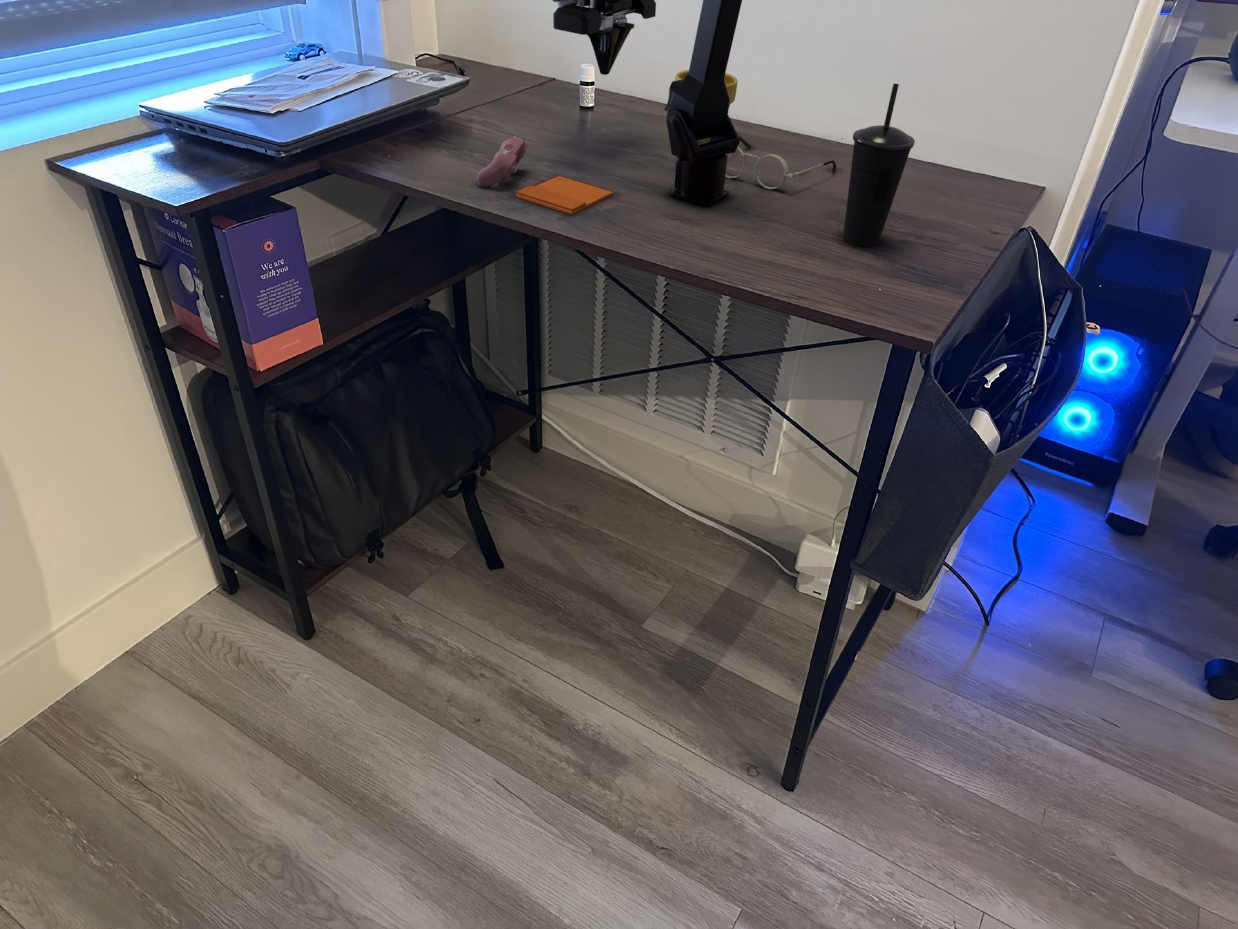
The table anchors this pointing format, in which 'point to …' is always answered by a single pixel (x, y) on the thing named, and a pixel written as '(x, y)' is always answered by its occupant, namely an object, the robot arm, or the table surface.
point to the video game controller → (503, 162)
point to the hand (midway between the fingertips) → (604, 74)
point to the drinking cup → (874, 178)
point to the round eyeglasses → (781, 163)
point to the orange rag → (563, 195)
